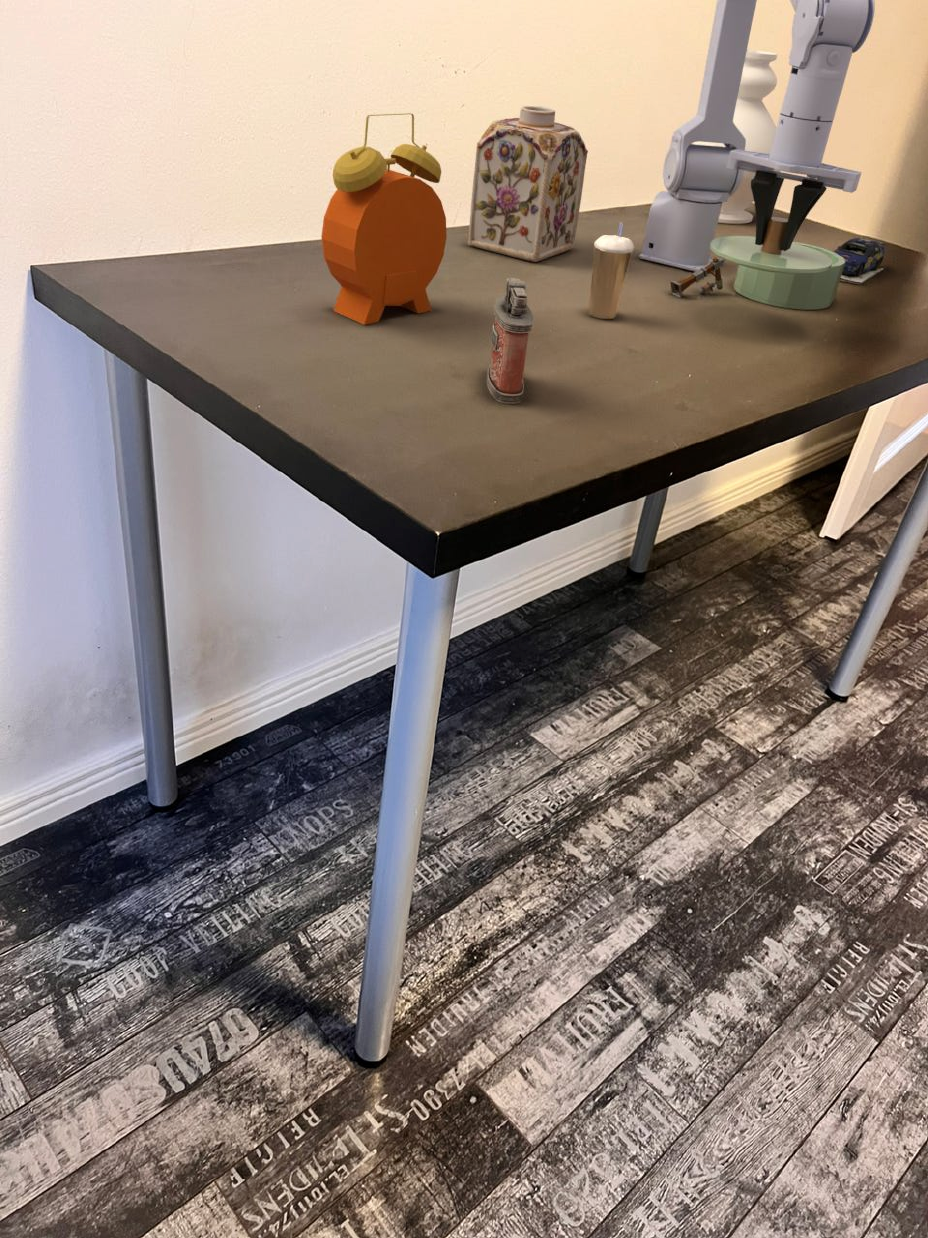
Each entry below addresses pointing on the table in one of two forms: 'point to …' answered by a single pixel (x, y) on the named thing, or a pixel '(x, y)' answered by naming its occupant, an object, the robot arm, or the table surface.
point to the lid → (771, 252)
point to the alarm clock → (383, 230)
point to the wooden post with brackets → (698, 275)
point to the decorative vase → (750, 128)
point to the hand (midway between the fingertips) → (772, 246)
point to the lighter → (509, 343)
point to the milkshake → (609, 273)
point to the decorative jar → (527, 186)
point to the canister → (792, 285)
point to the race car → (860, 259)
